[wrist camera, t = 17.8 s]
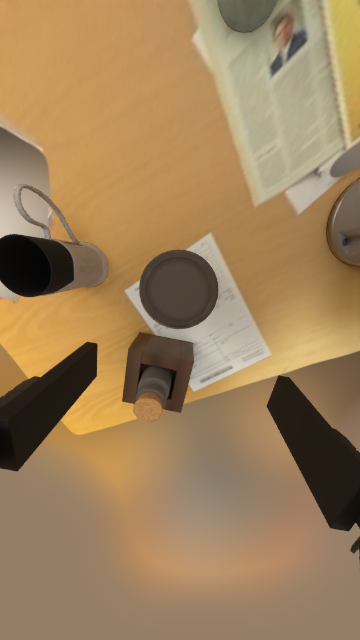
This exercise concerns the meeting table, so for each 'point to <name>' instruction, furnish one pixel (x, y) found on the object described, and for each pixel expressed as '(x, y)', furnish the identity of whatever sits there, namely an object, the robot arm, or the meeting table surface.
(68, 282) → the glass holder
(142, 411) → the bottle
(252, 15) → the grey cup
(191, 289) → the coffee can
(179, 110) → the meeting table surface
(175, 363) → the bottle stand
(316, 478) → the robot arm
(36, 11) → the meeting table surface
